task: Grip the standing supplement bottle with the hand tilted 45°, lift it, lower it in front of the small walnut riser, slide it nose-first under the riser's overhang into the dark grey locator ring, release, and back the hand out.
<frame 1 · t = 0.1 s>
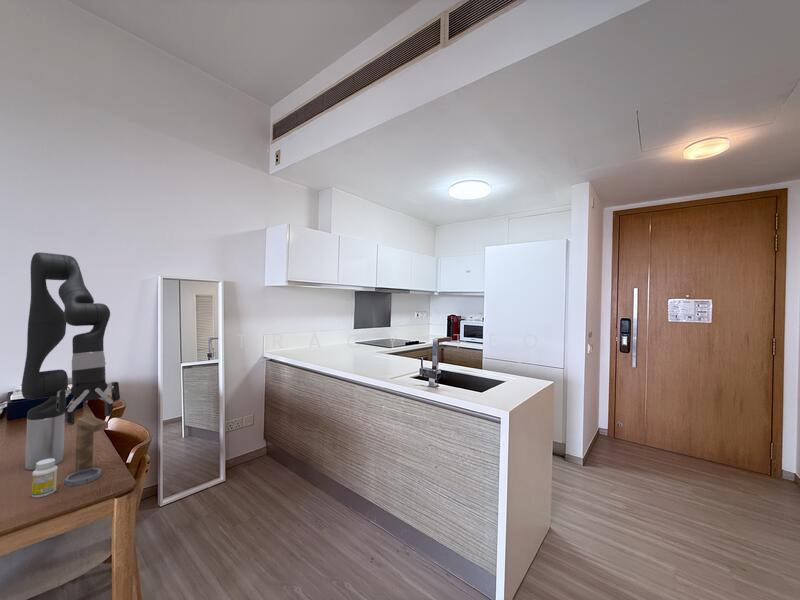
hand: (90, 420, 100), 22 cm above the table, tool pointing down, fingers open, 8 cm apart
locator ring: (83, 479, 108), on the table
walnut riser: (83, 479, 108), resting in locator ring
supplement bottle: (44, 493, 100), on the table
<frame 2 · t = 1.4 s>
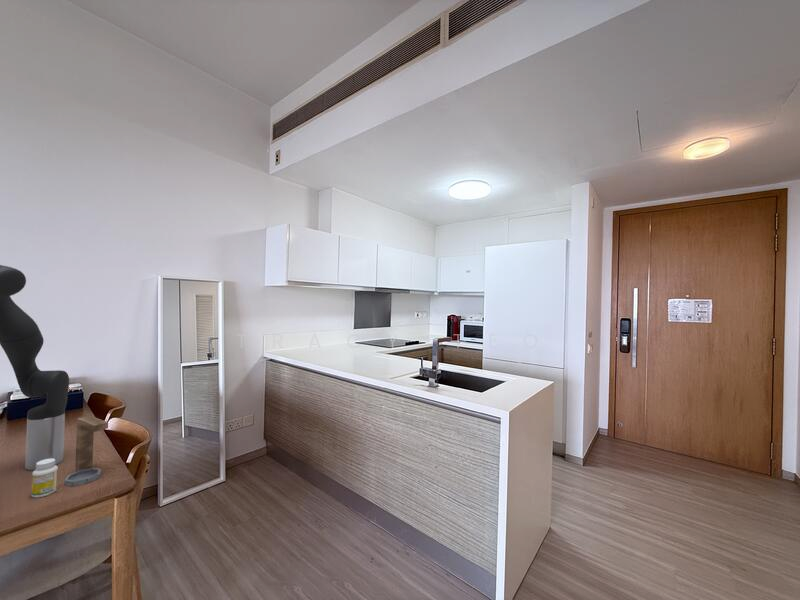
nothing on the table moved.
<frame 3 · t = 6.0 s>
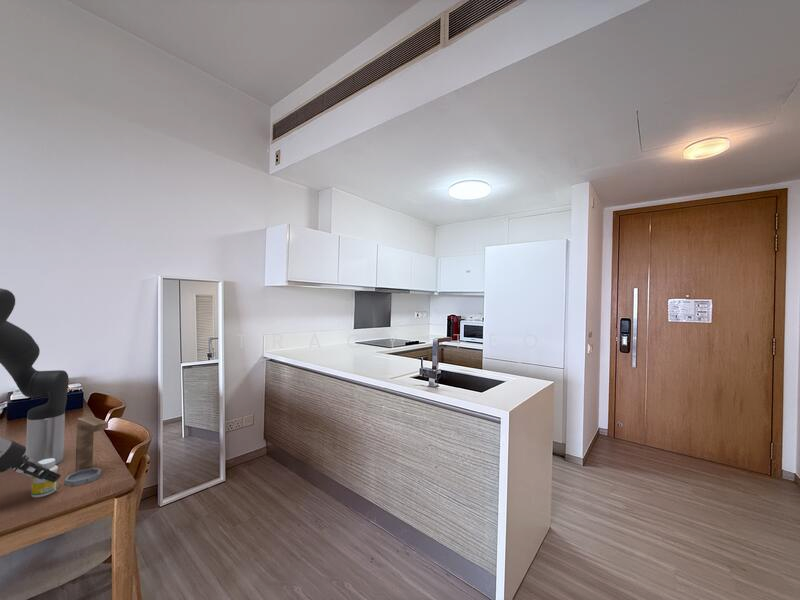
hand: (53, 476, 101), 4 cm above the table, tool tilted 45°, fingers closed on supplement bottle, 5 cm apart
supplement bottle: (44, 493, 100), on the table, touching gripper
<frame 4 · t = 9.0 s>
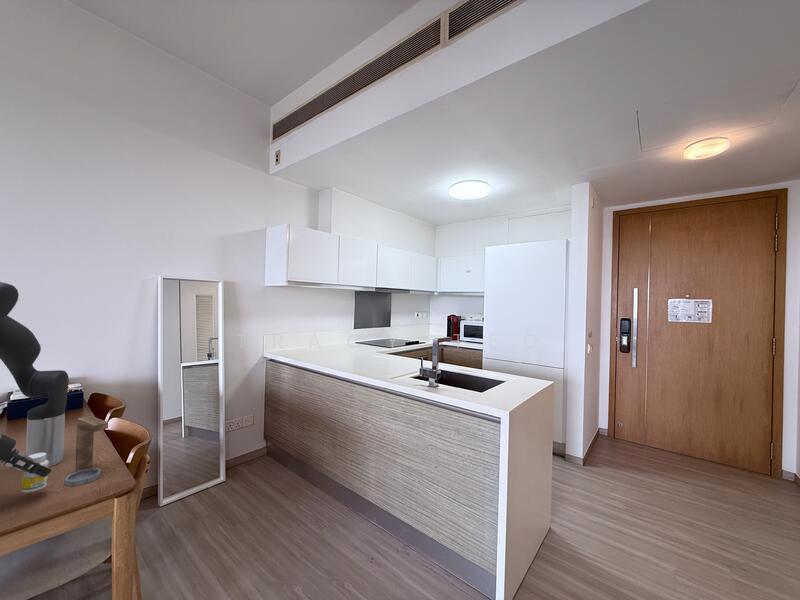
hand: (43, 470, 99), 7 cm above the table, tool tilted 45°, fingers closed on supplement bottle, 5 cm apart
supplement bottle: (34, 488, 98), point 2 cm above the table, touching gripper
when the fingers open (6 cm above the table, at t = 12.4 s): supplement bottle stays where it is, resting on locator ring.
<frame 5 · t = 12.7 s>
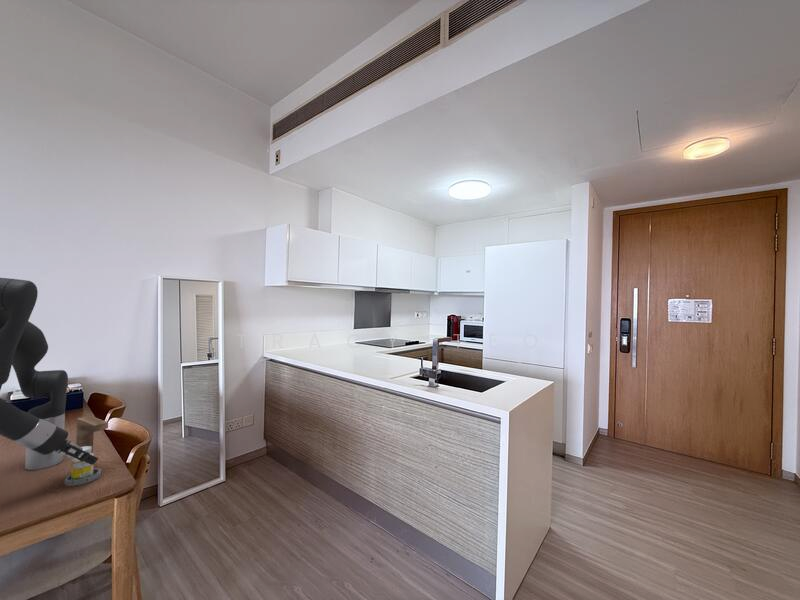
hand: (89, 458, 109), 6 cm above the table, tool tilted 45°, fingers open, 7 cm apart
supplement bottle: (82, 478, 108), resting on locator ring
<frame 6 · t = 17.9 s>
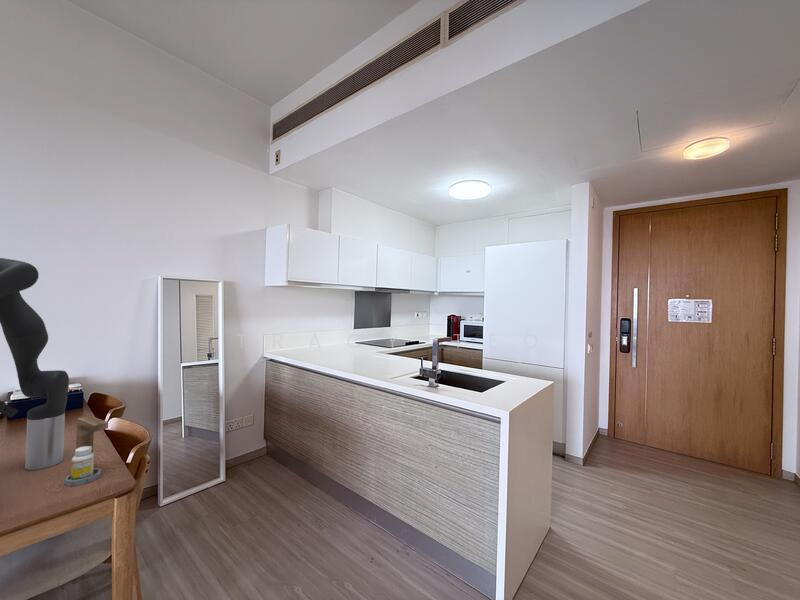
hand: (9, 411, 94), 27 cm above the table, tool tilted 45°, fingers open, 8 cm apart
nothing on the table moved.
at the end: supplement bottle 0.2 cm off-centre on the locator ring, point 0.3 cm above the locator ring's base; supplement bottle tilted 0°; the gripper is holding nothing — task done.
